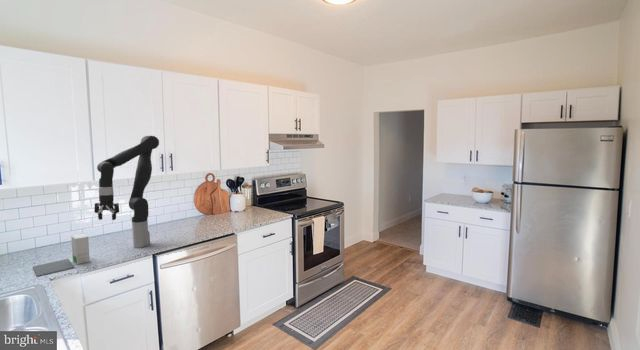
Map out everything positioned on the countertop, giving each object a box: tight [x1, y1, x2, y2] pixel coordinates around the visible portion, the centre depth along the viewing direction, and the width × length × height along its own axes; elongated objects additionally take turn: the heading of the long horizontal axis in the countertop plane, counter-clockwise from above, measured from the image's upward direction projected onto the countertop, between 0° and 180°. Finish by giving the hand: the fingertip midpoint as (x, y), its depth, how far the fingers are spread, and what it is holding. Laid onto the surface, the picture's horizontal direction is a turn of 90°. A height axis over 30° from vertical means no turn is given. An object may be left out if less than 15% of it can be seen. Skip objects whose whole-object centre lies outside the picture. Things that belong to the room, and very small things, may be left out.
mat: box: [32, 258, 75, 278], centre depth 183 cm, size 16×18×1 cm
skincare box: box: [70, 233, 91, 265], centre depth 191 cm, size 8×7×16 cm
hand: (107, 219), depth 202 cm, fingers open, 8 cm apart
